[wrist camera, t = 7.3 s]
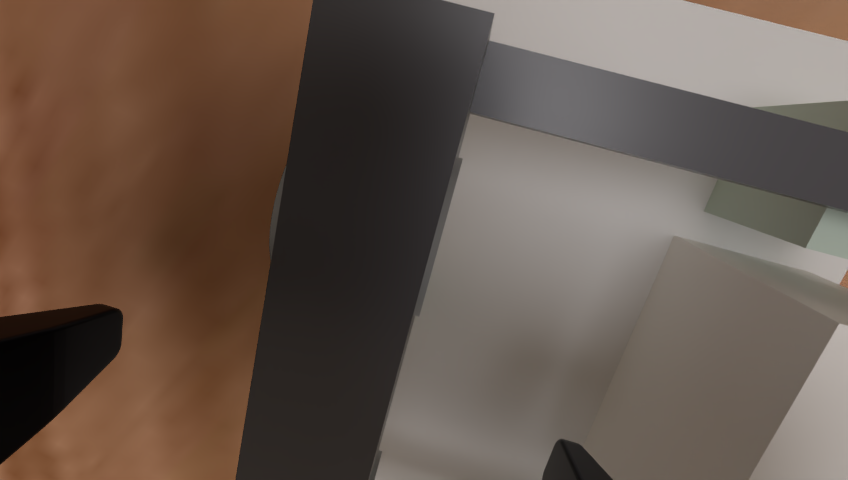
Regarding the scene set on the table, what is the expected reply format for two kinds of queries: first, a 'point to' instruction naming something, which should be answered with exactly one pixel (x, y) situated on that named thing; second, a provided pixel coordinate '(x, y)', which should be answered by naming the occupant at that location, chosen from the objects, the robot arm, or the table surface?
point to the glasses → (441, 200)
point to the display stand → (633, 277)
